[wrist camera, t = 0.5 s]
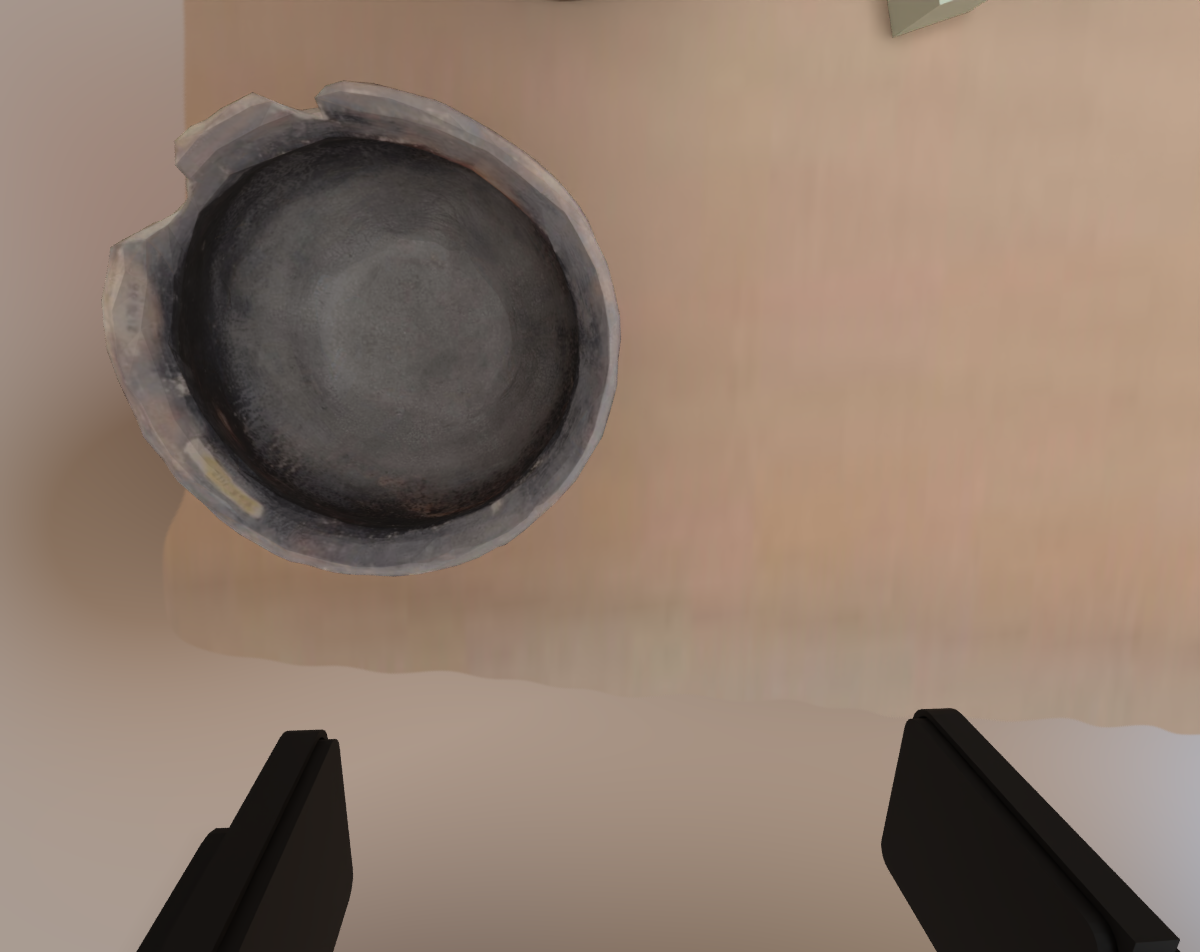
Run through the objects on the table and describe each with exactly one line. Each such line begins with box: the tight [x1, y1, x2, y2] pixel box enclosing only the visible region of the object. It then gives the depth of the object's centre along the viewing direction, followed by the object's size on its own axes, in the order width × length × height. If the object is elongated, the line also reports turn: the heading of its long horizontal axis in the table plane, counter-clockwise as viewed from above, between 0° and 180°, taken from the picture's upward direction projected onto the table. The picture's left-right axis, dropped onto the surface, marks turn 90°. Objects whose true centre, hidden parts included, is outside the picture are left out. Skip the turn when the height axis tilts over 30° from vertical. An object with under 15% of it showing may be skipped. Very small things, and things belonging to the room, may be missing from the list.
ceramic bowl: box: [101, 81, 621, 576], centre depth 35 cm, size 22×22×15 cm
